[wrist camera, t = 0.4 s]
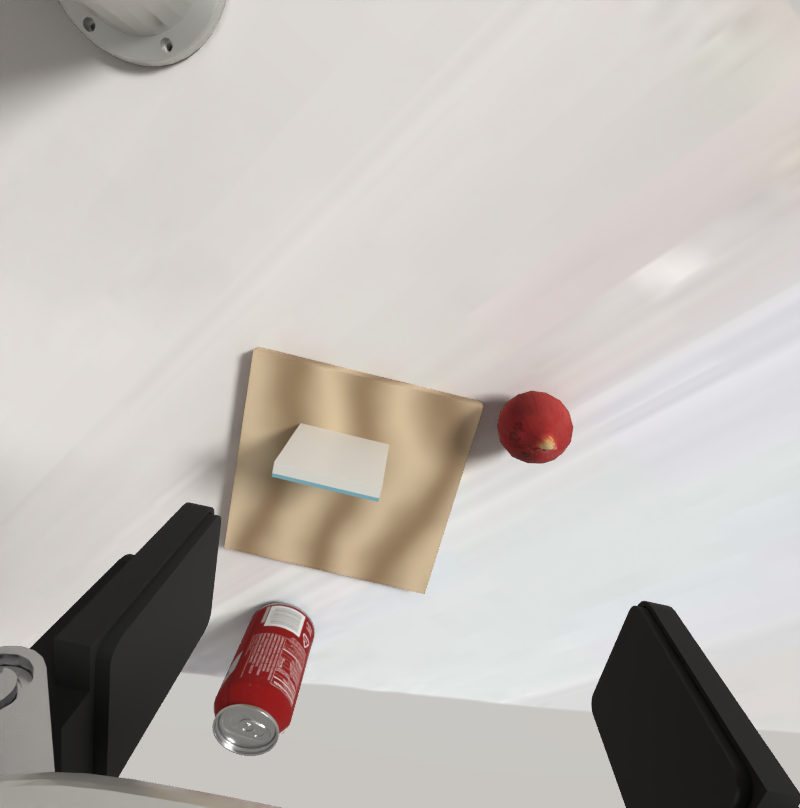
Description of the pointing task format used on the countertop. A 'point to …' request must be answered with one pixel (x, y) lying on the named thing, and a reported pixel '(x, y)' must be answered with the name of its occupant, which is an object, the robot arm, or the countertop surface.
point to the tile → (333, 462)
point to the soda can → (263, 680)
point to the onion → (535, 427)
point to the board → (336, 512)
